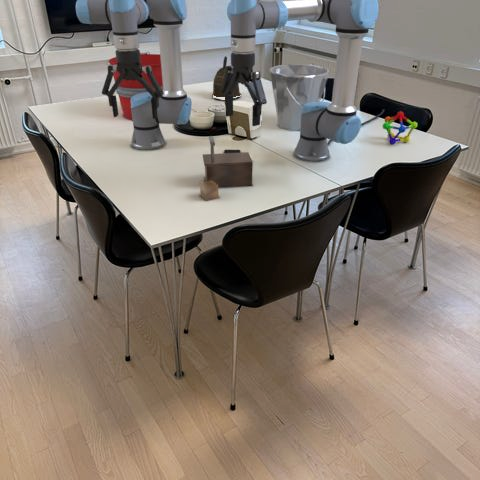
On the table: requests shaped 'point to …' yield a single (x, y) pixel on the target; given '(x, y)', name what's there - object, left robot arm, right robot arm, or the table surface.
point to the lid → (225, 157)
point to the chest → (230, 175)
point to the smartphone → (231, 151)
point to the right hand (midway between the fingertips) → (242, 120)
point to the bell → (219, 80)
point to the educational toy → (398, 128)
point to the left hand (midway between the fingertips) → (135, 116)
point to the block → (209, 190)
